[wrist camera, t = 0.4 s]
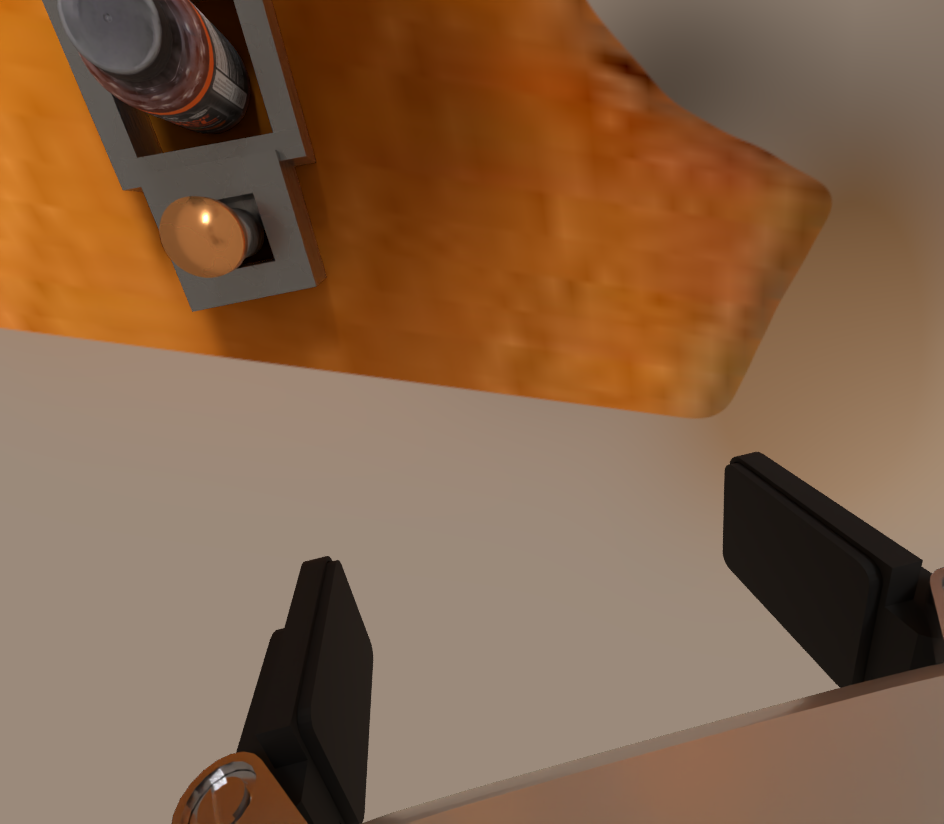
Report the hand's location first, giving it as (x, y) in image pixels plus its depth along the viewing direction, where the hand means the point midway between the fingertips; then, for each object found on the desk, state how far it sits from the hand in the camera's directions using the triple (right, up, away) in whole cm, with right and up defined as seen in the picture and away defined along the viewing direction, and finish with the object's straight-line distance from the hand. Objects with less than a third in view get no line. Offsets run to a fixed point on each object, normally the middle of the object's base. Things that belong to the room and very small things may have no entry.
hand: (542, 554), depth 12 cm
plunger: (-17, +15, +20) cm, 30 cm away
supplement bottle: (-19, +24, +20) cm, 36 cm away
